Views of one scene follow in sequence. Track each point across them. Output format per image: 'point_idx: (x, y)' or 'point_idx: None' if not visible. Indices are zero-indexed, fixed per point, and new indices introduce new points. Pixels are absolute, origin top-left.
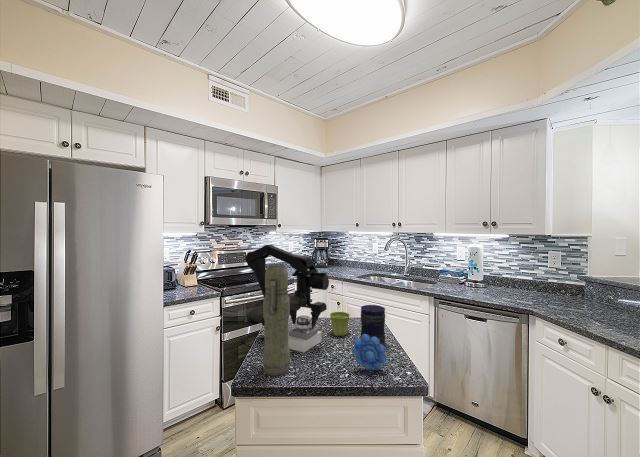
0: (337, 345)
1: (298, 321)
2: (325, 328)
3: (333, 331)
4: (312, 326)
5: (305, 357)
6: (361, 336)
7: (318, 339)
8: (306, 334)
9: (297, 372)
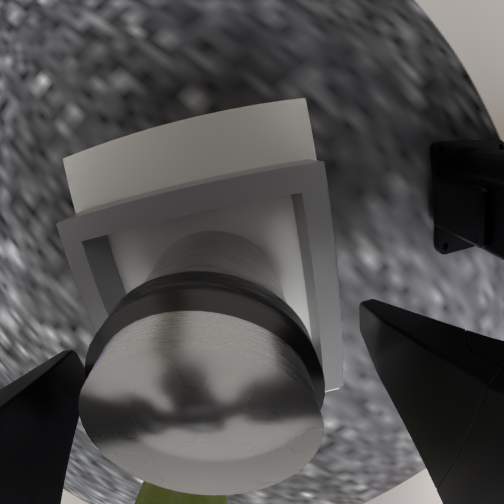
0: None
1: (210, 309)
2: None
3: None
4: (54, 357)
5: (51, 116)
6: None
7: None
8: (63, 230)
9: (3, 4)
